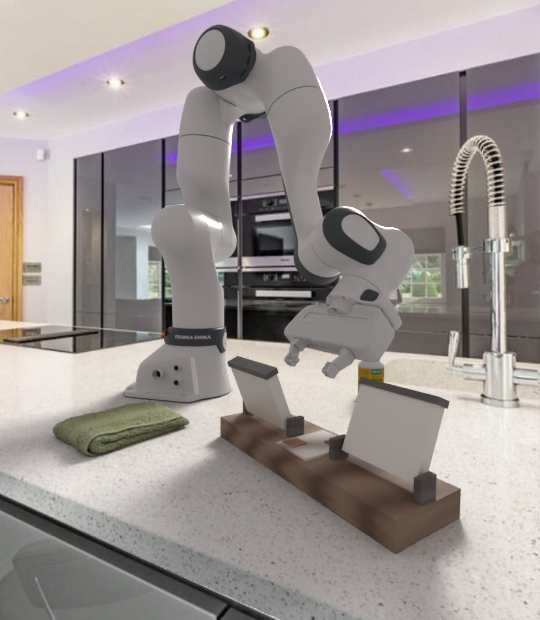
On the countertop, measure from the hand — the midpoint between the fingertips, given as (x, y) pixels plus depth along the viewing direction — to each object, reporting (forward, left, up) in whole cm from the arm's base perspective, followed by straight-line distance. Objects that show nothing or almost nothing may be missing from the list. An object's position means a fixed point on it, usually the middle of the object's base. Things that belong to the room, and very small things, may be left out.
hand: (306, 369), depth 63 cm
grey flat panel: (+8, -20, -7) cm, 22 cm away
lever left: (-5, -4, -7) cm, 10 cm away
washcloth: (-29, -2, -11) cm, 31 cm away
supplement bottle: (+13, +23, -10) cm, 28 cm away
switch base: (+1, -12, -10) cm, 16 cm away
